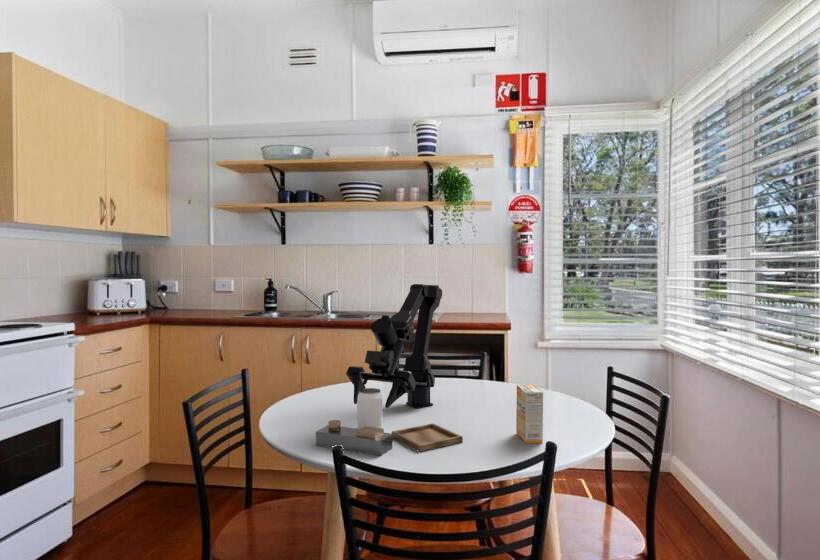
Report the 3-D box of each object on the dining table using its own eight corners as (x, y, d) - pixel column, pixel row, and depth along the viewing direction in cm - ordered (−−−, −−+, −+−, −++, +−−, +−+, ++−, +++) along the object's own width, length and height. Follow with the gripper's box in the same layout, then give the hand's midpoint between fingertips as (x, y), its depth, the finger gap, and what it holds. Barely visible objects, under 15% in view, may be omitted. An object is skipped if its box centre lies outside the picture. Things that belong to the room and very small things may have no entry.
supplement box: (515, 433, 141) (515, 384, 141) (533, 433, 142) (533, 384, 141) (524, 443, 133) (525, 391, 132) (543, 443, 133) (543, 391, 133)
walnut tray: (432, 428, 145) (432, 423, 145) (462, 442, 134) (462, 436, 134) (391, 437, 138) (391, 431, 138) (419, 452, 127) (419, 445, 127)
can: (378, 441, 134) (378, 394, 134) (354, 439, 136) (354, 392, 135) (385, 433, 141) (385, 388, 140) (361, 431, 142) (361, 387, 142)
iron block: (315, 445, 131) (315, 423, 131) (329, 438, 137) (328, 416, 137) (381, 456, 124) (381, 432, 124) (392, 447, 130) (392, 425, 130)
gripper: (349, 336, 147) (327, 384, 137) (411, 340, 139) (393, 391, 129) (363, 360, 154) (343, 407, 144) (422, 365, 146) (406, 415, 137)
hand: (370, 405), depth 138 cm, fingers open, 9 cm apart
